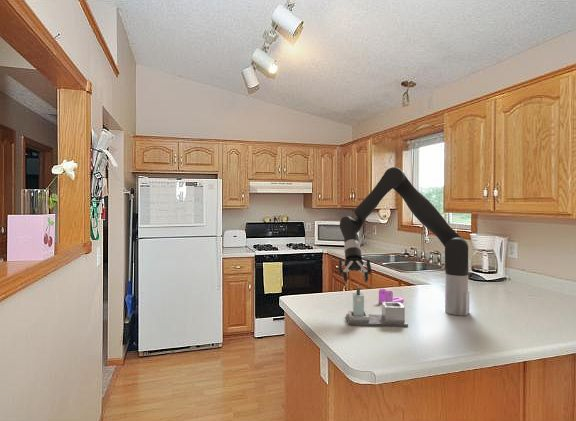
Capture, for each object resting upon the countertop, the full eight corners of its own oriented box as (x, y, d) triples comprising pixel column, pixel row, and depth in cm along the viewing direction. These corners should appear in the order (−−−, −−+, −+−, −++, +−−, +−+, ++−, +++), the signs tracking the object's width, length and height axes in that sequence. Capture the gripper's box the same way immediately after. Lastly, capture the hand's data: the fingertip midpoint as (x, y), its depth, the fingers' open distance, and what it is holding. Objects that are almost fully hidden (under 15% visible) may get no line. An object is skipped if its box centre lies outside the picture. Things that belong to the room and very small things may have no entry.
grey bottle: (362, 317, 151) (362, 286, 151) (364, 320, 147) (364, 288, 146) (352, 317, 152) (352, 286, 151) (354, 320, 147) (354, 288, 147)
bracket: (387, 305, 173) (387, 291, 172) (378, 302, 177) (378, 288, 177) (406, 301, 179) (406, 287, 179) (397, 299, 184) (397, 285, 184)
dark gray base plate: (400, 317, 154) (400, 300, 154) (407, 326, 142) (407, 309, 142) (346, 316, 156) (346, 300, 156) (348, 325, 144) (348, 308, 144)
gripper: (337, 246, 167) (340, 276, 155) (369, 246, 166) (373, 276, 155) (337, 256, 172) (339, 285, 161) (367, 256, 171) (371, 286, 160)
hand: (356, 281), depth 158 cm, fingers open, 8 cm apart
